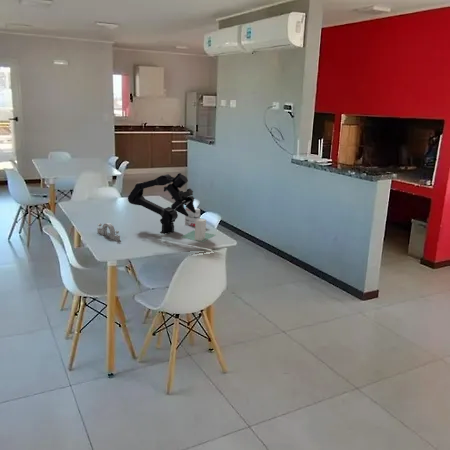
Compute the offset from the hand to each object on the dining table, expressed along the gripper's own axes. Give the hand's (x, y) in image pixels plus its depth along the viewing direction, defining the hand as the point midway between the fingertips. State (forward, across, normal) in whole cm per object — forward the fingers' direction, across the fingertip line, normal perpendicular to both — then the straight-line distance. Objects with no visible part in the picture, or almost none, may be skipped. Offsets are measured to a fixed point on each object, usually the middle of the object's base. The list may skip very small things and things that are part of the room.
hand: (191, 214), depth 266 cm
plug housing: (+14, -3, +4) cm, 15 cm away
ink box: (+2, +22, +17) cm, 28 cm away
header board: (+12, +2, +7) cm, 14 cm away
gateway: (-17, -26, +38) cm, 49 cm away
